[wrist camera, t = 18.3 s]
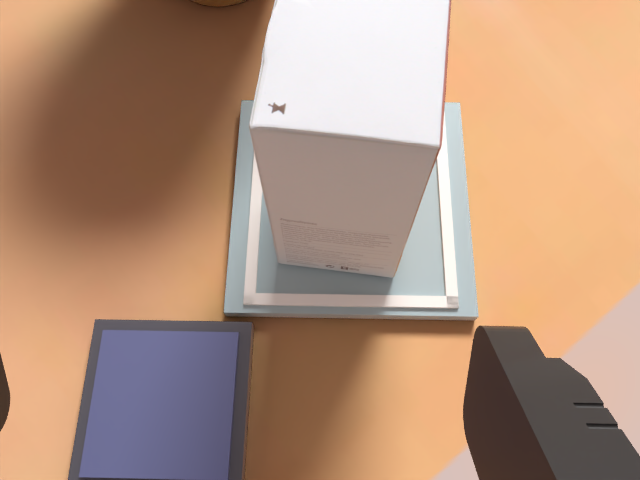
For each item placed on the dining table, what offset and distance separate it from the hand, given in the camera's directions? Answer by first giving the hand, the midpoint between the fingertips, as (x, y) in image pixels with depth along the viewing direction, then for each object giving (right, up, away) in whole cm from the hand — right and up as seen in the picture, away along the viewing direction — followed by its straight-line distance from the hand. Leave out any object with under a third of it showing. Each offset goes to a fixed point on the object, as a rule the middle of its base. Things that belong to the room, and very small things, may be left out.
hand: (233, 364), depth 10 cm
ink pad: (-6, -6, +19) cm, 21 cm away
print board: (+3, +4, +23) cm, 23 cm away
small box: (+3, +4, +22) cm, 22 cm away
